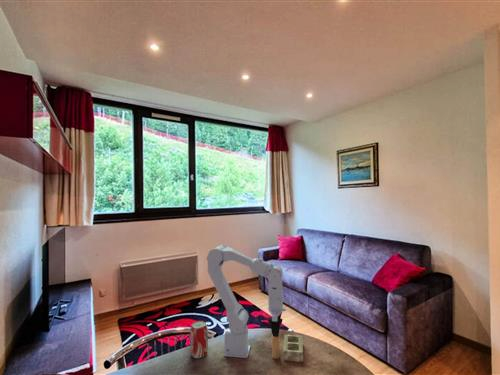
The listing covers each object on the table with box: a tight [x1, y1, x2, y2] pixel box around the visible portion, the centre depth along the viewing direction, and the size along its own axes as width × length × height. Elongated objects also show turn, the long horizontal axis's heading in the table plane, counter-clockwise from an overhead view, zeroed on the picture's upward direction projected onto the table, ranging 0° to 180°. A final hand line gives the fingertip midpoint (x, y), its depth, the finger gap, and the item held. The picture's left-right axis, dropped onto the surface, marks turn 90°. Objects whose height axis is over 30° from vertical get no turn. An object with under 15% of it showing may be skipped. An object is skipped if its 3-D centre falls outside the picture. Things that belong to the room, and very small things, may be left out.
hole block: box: [283, 334, 304, 363], centre depth 102 cm, size 8×12×4 cm, turn 171°
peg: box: [271, 334, 280, 360], centre depth 100 cm, size 3×3×8 cm
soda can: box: [189, 320, 209, 359], centre depth 102 cm, size 7×7×12 cm
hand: (276, 331), depth 100 cm, fingers open, 7 cm apart
